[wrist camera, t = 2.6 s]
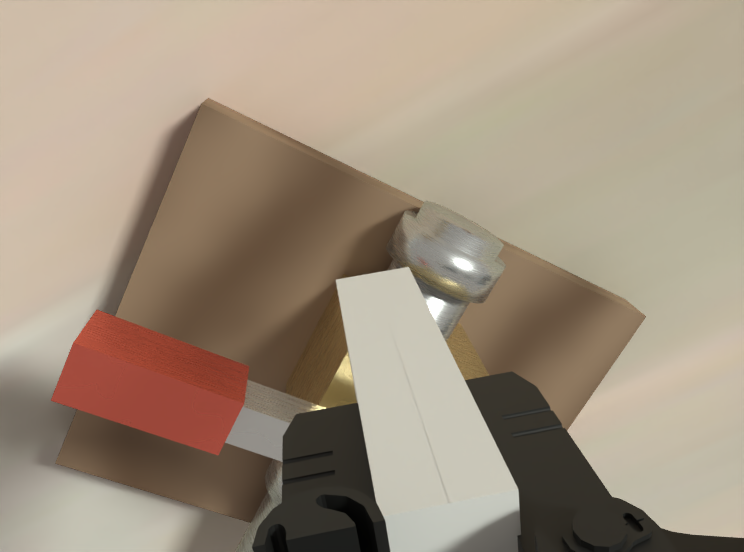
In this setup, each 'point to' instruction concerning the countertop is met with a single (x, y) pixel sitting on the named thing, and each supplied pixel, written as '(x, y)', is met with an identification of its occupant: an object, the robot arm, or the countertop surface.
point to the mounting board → (310, 298)
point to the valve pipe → (442, 294)
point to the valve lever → (173, 389)
